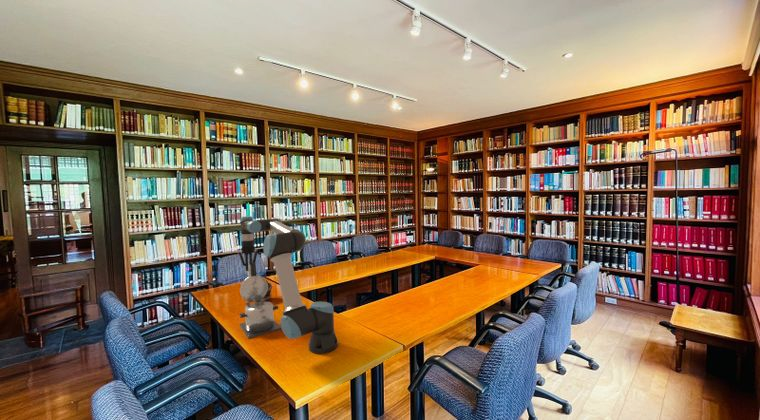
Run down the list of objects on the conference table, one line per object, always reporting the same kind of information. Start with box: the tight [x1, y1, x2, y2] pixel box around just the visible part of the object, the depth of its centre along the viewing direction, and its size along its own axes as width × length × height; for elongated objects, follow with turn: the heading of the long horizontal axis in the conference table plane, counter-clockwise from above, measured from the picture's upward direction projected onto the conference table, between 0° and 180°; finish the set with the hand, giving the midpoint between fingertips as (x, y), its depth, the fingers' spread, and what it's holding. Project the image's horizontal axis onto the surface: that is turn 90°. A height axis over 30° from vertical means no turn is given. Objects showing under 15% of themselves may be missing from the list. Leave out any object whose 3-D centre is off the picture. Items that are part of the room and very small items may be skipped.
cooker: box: [238, 299, 282, 340], centre depth 188 cm, size 22×22×14 cm
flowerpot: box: [255, 279, 273, 303], centre depth 236 cm, size 14×15×20 cm
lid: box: [239, 262, 269, 303], centre depth 195 cm, size 24×17×4 cm
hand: (249, 275), depth 203 cm, fingers closed
